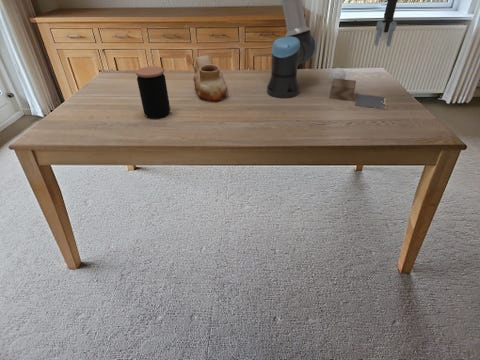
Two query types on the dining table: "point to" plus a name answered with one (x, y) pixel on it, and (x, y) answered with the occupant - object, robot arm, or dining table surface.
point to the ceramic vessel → (209, 80)
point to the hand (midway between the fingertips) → (383, 39)
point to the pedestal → (342, 89)
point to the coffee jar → (153, 92)
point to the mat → (369, 101)
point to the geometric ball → (337, 74)
